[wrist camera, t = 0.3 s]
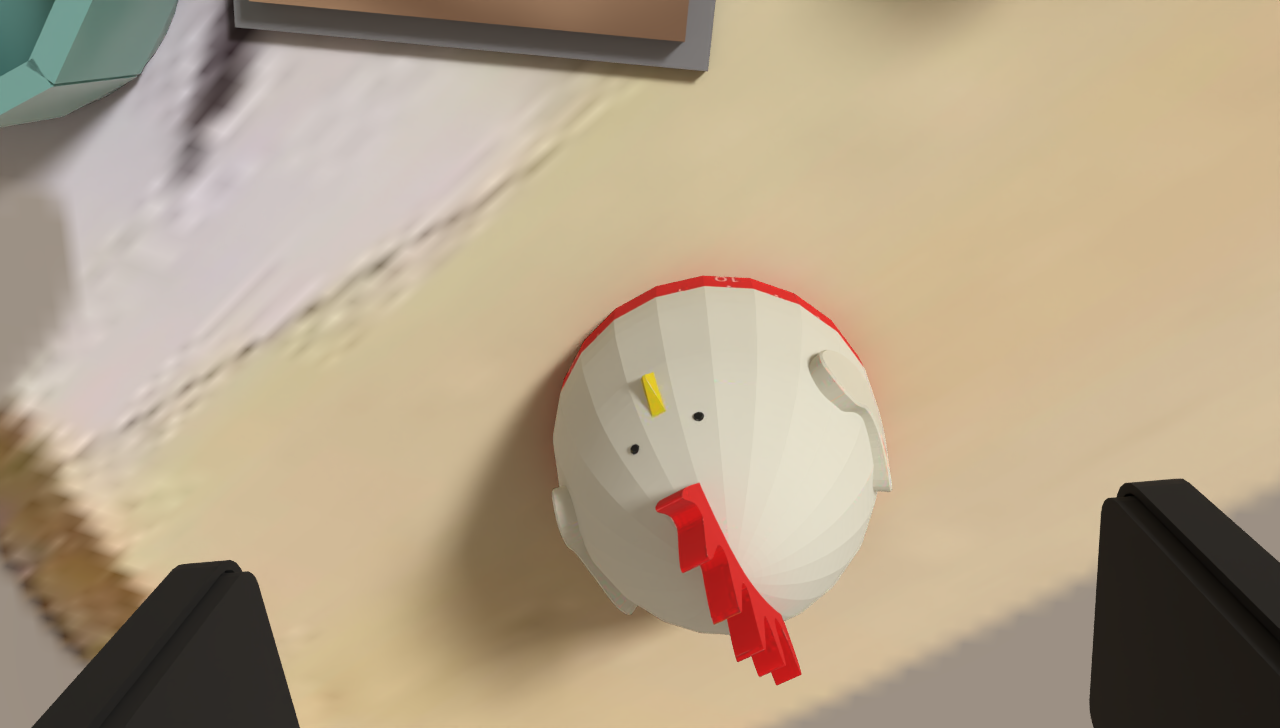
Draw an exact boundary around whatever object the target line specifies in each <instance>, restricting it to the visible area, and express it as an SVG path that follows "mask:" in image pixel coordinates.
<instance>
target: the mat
mask: <svg viewBox="0 0 1280 728" xmlns="http://www.w3.org/2000/svg"><path fill="white" fill-rule="evenodd" d="M233 1H234V18H235V27H239V28H249V29H260V30H271V31H282V32H292V33H303V34H314V35H324V36H335V37H346V38H357V39H367V40H378V41H389V42H399V43H410V44H421V45H431V46H442V47H453V48H464V49H474V50H485V51H496V52H506V53H517V54H528V55H539V56H549V57H560V58H571V59H581V60H592V61H603V62H613V63H624V64H635V65H646V66H656V67H667V68H678V69H688V70H699V71H708V65H709V56H710V47H711V38H712V28H713V19H714V10H715V1H716V0H689V6H688V16H687V26H686V36H685V42H680V41H670V40H659V39H648V38H637V37H627V36H616V35H605V34H595V33H584V32H573V31H563V30H552V29H541V28H531V27H520V26H509V25H499V24H488V23H477V22H467V21H456V20H445V19H435V18H424V17H413V16H403V15H392V14H381V13H370V12H360V11H349V10H338V9H328V8H317V7H306V6H296V5H285V4H274V3H264V2H253V1H249V0H233Z"/></svg>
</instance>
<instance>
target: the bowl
mask: <svg viewBox="0 0 1280 728" xmlns="http://www.w3.org/2000/svg"><path fill="white" fill-rule="evenodd" d="M177 3H178V0H0V128H1V127H7V126H13V125H19V124H24V123H30V122H36V121H42V120H48V119H54V118H59V117H64V116H66V115H68V114H69V113H71V112H73V111H75V110H77V109H79V108H81V107H82V106H84V105H88V104H90V103H92V102H95V101H97V100H99V99H101V98H104V97H106V96H108V95H110V94H111V93H113V92H114V91H116V90H117V89H119V88H120V87H122V86H123V85H125V84H126V83H127V82H129V81H131V80H133V79H135V78H136V77H138V76H137V74H141V72H142V70H143V68H144V66H145V65H146V64H147V62H148V61H149V60H150V59H151V57H152V56H153V55H154V54H155V52H156V51H157V49H158V47H159V46H160V44H161V42H162V40H163V39H164V37H165V35H166V34H167V31H168V29H169V26H170V24H171V21H172V19H173V16H174V14H175V11H176V7H177Z"/></svg>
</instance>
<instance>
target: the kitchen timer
mask: <svg viewBox="0 0 1280 728" xmlns="http://www.w3.org/2000/svg"><path fill="white" fill-rule="evenodd" d="M553 446H554V453H555V460H556V467H557V474H558V481H559V487H558V488H554V489H553V491H552V501H553V507H554V512H555V517H556V521H557V524H558V528H559V531H560V534H561V536H562V538H563V541H564V542H565V544H566V546H567V547H568V548H569V549H570V550H572V551H573V552H574V553H575V554H576V555H577V556H578V557H579V558H580V560H581V561H582V562H583V564H584V565H585V566H586V568H587V569H588V570H589V572H590V573H591V574H592V576H593V577H594V578H595V580H596V581H597V583H598V584H599V585H600V587H601V588H602V589H603V591H604V592H605V594H606V595H607V596H608V597H609V599H610V600H611V601H612V603H613V604H614V605H615V606H616V607H617V608H618V609H619V610H620V611H621V612H623V613H624V614H626V615H631V614H632V613H633V612H634V610H635V609H636V607H637V606H640V607H641V608H643V609H644V610H646V611H648V612H649V613H651V614H652V615H654V616H656V617H657V618H659V619H660V620H662V621H664V622H667V623H670V624H673V625H676V626H679V627H683V628H686V629H689V630H692V631H695V632H699V633H708V634H725V635H730V636H731V640H732V645H733V649H734V653H735V657H736V660H737V662H739V661H742V660H744V659H746V658H748V657H750V656H752V659H753V662H754V665H755V668H756V671H757V673H758V675H759V677H761V676H763V675H765V674H768V673H770V672H771V673H772V676H773V678H774V681H775V683H776V685H779V684H781V683H784V682H786V681H788V680H790V679H793V678H795V677H797V676H799V675H801V670H800V667H799V664H798V660H797V657H796V654H795V651H794V648H793V645H792V643H791V640H790V637H789V634H788V631H787V628H786V626H785V623H784V621H786V620H788V619H790V618H792V617H795V616H797V615H799V614H801V613H802V612H803V611H804V610H806V609H807V608H808V607H809V606H811V605H812V604H813V603H814V602H815V601H817V600H818V599H819V598H820V597H821V596H823V595H824V594H825V593H826V592H828V591H829V590H830V589H831V588H832V587H833V586H834V585H835V583H836V582H837V581H838V579H839V578H840V576H841V575H842V574H843V572H844V571H845V569H846V568H847V566H848V565H849V563H850V562H851V560H852V559H853V558H854V556H855V555H856V553H857V552H858V550H859V548H860V547H861V544H862V542H863V539H864V536H865V533H866V530H867V526H868V523H869V520H870V517H871V514H872V511H873V507H874V504H875V500H876V496H877V492H878V491H884V492H890V491H891V490H892V482H891V475H890V469H889V460H888V452H887V445H886V439H885V434H884V429H883V424H882V420H881V416H880V413H879V409H878V406H877V403H876V400H875V397H874V394H873V391H872V388H871V386H870V383H869V380H868V377H867V374H866V371H865V368H864V366H863V364H862V363H861V361H860V359H859V357H858V356H857V354H856V353H855V351H854V350H853V349H852V347H851V346H850V345H849V343H848V342H847V341H846V339H845V338H844V337H843V335H842V334H841V333H840V331H839V330H838V329H837V327H836V326H835V325H834V323H833V322H832V321H831V320H830V319H829V318H828V317H826V316H825V315H823V314H822V313H821V312H819V311H818V310H816V309H815V308H814V307H812V306H811V305H809V304H808V303H807V302H805V301H804V300H802V299H801V298H800V297H798V296H797V295H796V294H794V293H791V292H788V291H785V290H782V289H780V288H777V287H774V286H771V285H768V284H765V283H762V282H759V281H756V280H754V279H751V278H735V277H716V276H700V277H695V278H691V279H687V280H682V281H678V282H673V283H669V284H665V285H660V286H656V287H654V288H653V289H651V290H649V291H647V292H645V293H643V294H642V295H640V296H638V297H636V298H634V299H632V300H631V301H629V302H627V303H625V304H623V305H622V306H620V307H618V308H616V309H615V310H614V311H613V312H612V313H611V314H610V315H609V316H608V317H607V318H606V319H605V320H604V321H603V322H602V323H601V324H600V325H599V326H598V327H597V328H596V329H595V330H594V331H593V332H592V333H591V334H590V335H589V336H588V337H587V338H586V339H585V340H584V342H583V344H582V346H581V348H580V350H579V351H578V353H577V355H576V357H575V359H574V361H573V363H572V365H571V367H570V369H569V371H568V372H567V374H566V376H565V378H564V382H563V385H562V389H561V392H560V398H559V404H558V409H557V415H556V421H555V426H554V432H553Z"/></svg>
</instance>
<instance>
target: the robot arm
mask: <svg viewBox="0 0 1280 728" xmlns="http://www.w3.org/2000/svg"><path fill="white" fill-rule="evenodd" d="M1091 669H1092V670H1091V684H1090V685H1091V686H1090V714H1091V719H1092V723H1093V727H1094V728H1280V562H1278V561H1277V560H1276V559H1275V558H1274V557H1273V556H1271V555H1270V554H1269V553H1268V552H1267V551H1266V550H1265V549H1263V548H1262V547H1261V546H1260V545H1259V544H1258V543H1257V542H1256V541H1254V540H1253V539H1252V538H1251V537H1250V536H1249V535H1248V534H1247V533H1245V532H1244V531H1243V530H1242V529H1241V528H1240V527H1239V526H1237V525H1236V524H1235V523H1234V522H1233V521H1232V520H1231V519H1230V518H1229V517H1227V516H1226V515H1225V514H1224V513H1223V512H1222V511H1221V510H1219V509H1218V508H1217V507H1216V506H1215V505H1214V504H1213V503H1212V502H1210V501H1209V500H1208V499H1207V498H1206V497H1205V496H1204V495H1202V494H1201V493H1200V492H1199V491H1198V490H1197V489H1196V488H1195V487H1193V486H1192V485H1191V484H1190V483H1189V482H1187V481H1185V480H1184V479H1168V480H1156V481H1144V482H1133V483H1125V484H1123V485H1122V486H1121V487H1120V489H1119V492H1118V494H1117V497H1116V498H1107V499H1106V500H1105V501H1104V503H1103V506H1102V511H1101V524H1100V540H1099V556H1098V572H1097V588H1096V604H1095V621H1094V636H1093V653H1092V668H1091ZM32 728H300V727H299V723H298V720H297V716H296V713H295V709H294V706H293V703H292V699H291V696H290V692H289V689H288V685H287V682H286V678H285V675H284V671H283V668H282V664H281V661H280V658H279V654H278V651H277V647H276V644H275V640H274V637H273V633H272V630H271V626H270V623H269V620H268V616H267V613H266V609H265V606H264V602H263V599H262V595H261V592H260V588H259V585H258V582H257V580H256V578H255V576H254V575H253V574H252V573H250V572H248V571H247V572H242V570H241V568H240V567H239V566H238V564H237V563H236V562H234V561H231V560H226V561H214V562H202V563H191V564H182V565H178V566H177V567H176V568H174V569H173V570H172V571H171V572H170V573H169V574H168V575H167V577H166V578H165V579H164V580H163V581H162V582H161V583H160V584H159V585H158V587H157V588H156V589H155V590H154V591H153V592H152V593H151V594H150V596H149V597H148V598H147V599H146V600H145V601H144V602H143V603H142V604H141V606H140V607H139V608H138V609H137V610H136V611H135V612H134V613H133V615H132V616H131V617H130V618H129V619H128V620H127V621H126V622H125V624H124V625H123V626H122V627H121V628H120V629H119V630H118V631H117V632H116V634H115V635H114V636H113V637H112V638H111V639H110V640H109V641H108V643H107V644H106V645H105V646H104V647H103V648H102V649H101V650H100V652H99V653H98V654H97V655H96V656H95V657H94V658H93V659H92V660H91V662H90V663H89V664H88V665H87V666H86V667H85V668H84V669H83V671H82V672H81V673H80V674H79V675H78V676H77V677H76V678H75V679H74V681H73V682H72V683H71V684H70V685H69V686H68V687H67V689H66V690H65V691H64V692H63V693H62V694H61V695H60V696H59V697H58V699H57V700H56V701H55V702H54V703H53V704H52V706H50V707H49V709H48V710H47V711H46V712H45V713H44V714H43V715H42V716H41V718H40V719H39V720H38V721H37V722H36V723H35V724H34V726H33V727H32Z"/></svg>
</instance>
